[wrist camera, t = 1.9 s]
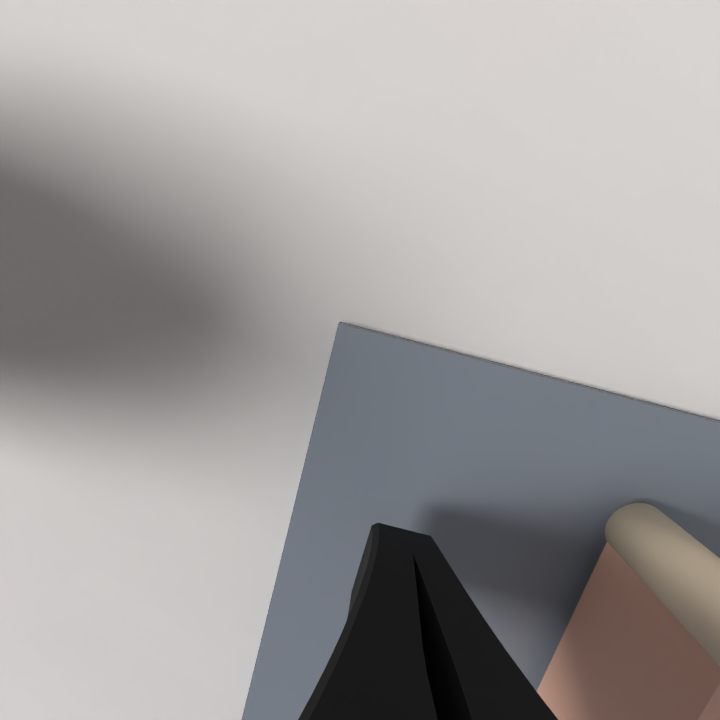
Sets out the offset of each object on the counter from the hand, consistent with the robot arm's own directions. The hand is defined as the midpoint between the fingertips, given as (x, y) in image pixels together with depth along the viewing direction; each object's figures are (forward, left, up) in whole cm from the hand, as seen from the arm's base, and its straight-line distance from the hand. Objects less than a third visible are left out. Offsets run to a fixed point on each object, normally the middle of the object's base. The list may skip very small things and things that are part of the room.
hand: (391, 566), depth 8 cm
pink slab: (-1, -6, -1) cm, 6 cm away
